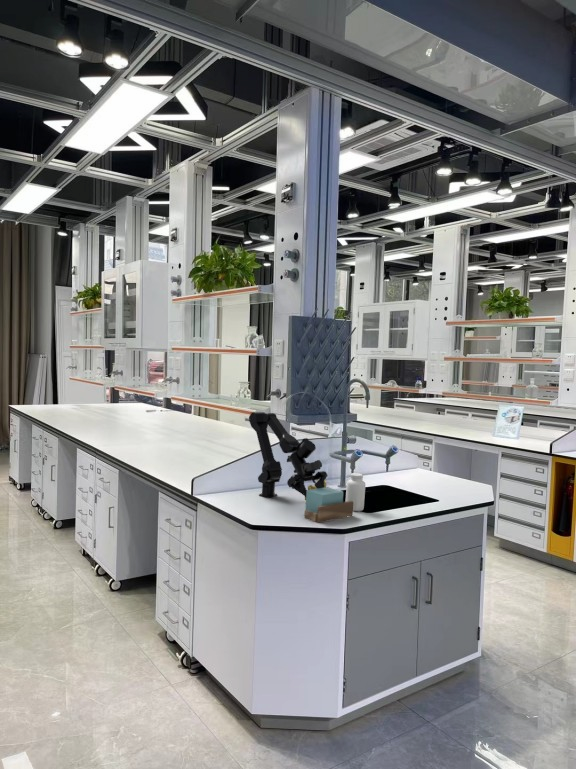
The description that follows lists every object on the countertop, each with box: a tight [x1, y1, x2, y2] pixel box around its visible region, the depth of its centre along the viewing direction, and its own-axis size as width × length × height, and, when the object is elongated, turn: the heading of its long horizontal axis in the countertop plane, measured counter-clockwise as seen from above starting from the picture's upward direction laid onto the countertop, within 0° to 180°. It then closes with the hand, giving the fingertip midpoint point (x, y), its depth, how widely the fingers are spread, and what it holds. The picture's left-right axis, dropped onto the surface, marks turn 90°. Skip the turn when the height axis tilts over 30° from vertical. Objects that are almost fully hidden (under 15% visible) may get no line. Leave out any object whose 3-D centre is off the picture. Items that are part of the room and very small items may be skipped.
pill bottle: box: [344, 472, 366, 512], centre depth 242 cm, size 8×8×15 cm
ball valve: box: [304, 480, 328, 502], centre depth 252 cm, size 13×10×10 cm
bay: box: [303, 501, 354, 524], centre depth 227 cm, size 8×20×6 cm, turn 131°
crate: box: [304, 486, 344, 513], centre depth 229 cm, size 9×12×10 cm
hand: (316, 496), depth 233 cm, fingers open, 9 cm apart
